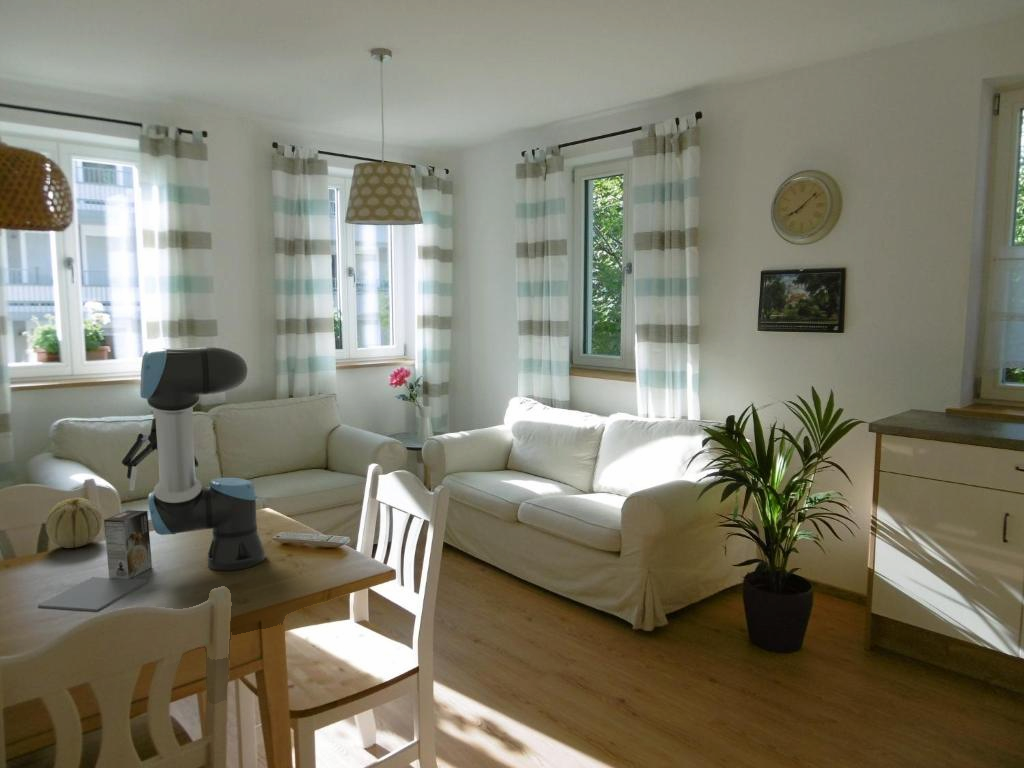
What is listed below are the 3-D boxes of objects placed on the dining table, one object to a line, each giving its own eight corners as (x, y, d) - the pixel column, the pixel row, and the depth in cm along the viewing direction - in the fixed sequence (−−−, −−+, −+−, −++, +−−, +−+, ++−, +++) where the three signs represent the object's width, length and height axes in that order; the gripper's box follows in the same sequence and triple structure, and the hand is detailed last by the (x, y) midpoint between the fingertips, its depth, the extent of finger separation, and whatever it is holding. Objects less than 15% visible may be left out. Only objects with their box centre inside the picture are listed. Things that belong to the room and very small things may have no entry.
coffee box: (132, 565, 202) (128, 509, 200) (152, 567, 200) (148, 510, 199) (107, 578, 193) (103, 519, 191) (129, 579, 192) (124, 520, 190)
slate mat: (147, 582, 190) (147, 580, 190) (97, 611, 172) (97, 609, 172) (92, 578, 192) (92, 577, 192) (38, 607, 175) (37, 605, 175)
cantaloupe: (80, 536, 228) (77, 489, 226) (115, 541, 223) (111, 493, 221) (35, 551, 214) (30, 501, 212) (70, 557, 209) (66, 506, 207)
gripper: (212, 424, 223) (205, 493, 216) (123, 422, 218) (113, 492, 210) (209, 417, 217) (201, 487, 209) (117, 414, 211) (106, 486, 203)
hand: (157, 490), depth 209 cm, fingers open, 13 cm apart
